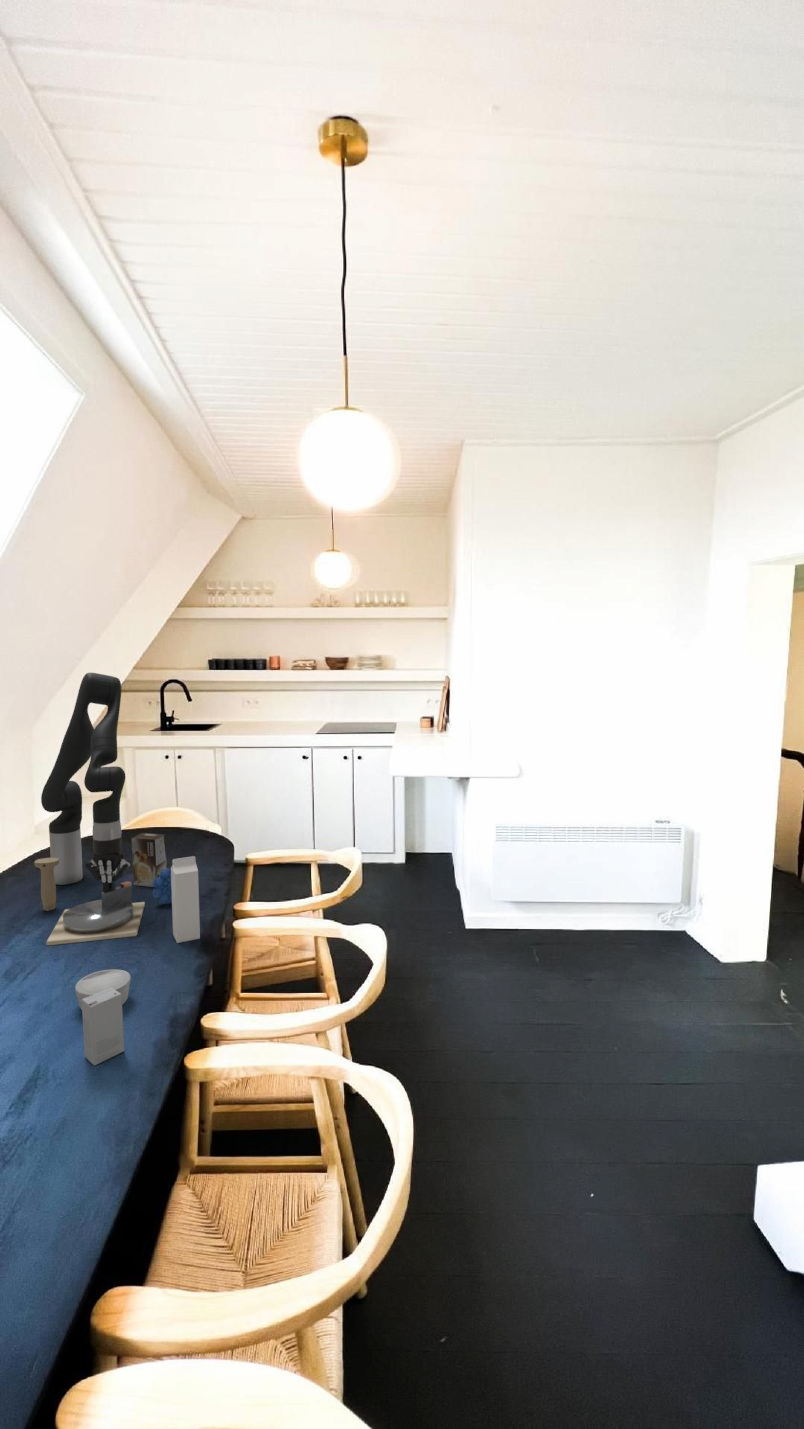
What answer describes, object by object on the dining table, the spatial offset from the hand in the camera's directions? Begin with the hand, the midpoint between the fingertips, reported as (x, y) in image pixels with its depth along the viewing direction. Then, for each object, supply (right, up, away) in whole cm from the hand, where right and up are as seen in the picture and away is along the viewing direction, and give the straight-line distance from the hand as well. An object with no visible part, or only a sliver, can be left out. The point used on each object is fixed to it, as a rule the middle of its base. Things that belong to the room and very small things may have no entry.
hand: (109, 893), depth 190 cm
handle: (-20, -6, +5) cm, 22 cm away
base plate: (-1, -7, -5) cm, 9 cm away
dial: (0, -6, -5) cm, 8 cm away
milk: (+27, -8, -13) cm, 31 cm away
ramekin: (+19, -12, -46) cm, 51 cm away
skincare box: (+28, -14, -64) cm, 71 cm away
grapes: (+15, -6, +11) cm, 19 cm away
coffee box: (+2, -4, +27) cm, 27 cm away
